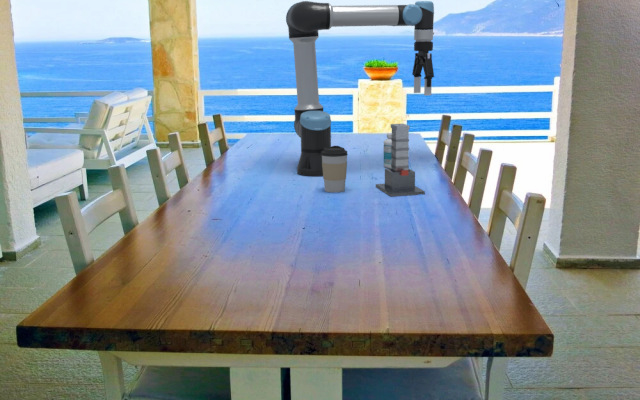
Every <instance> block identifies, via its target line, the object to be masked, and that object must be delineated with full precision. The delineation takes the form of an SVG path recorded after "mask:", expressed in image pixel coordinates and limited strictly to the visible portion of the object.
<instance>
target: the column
mask: <svg viewBox="0 0 640 400" xmlns="http://www.w3.org/2000/svg"><path fill="white" fill-rule="evenodd" d="M410 127H411V126H410V125H409V124H405V123H391V124H390V128H391V133H392V138H391V140H392V146H391V149H392V155H391V158H392V164H391V168H390V169H391V171H392V172H400V170H408V168H409V158H410V157H409V151H410V148H409V141H410V139H409V134H410V133H409V132H410V131H409V130H410ZM409 169H410V168H409Z"/></svg>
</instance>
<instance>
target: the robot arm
mask: <svg viewBox="0 0 640 400" xmlns="http://www.w3.org/2000/svg"><path fill="white" fill-rule="evenodd" d="M434 15H435V4H434V2H433V1H430V0H429V1H428V0H420V1H419V0H418V1H415V2H414V4H413V3H412V4H411V3H409V4H398V5H397V4H383V5H382V4H379V5H378V4H377V5H375V4H374V5H373V4H372V5H371V4H370V5H366V4H365V5H331V4H330V3H329V2H316V1H315V2H314V1H310V0H309V1H308V0H305V1H304V0H302V1H298V2H296V3H294V4H292V5H291V6H290V7H289V9H288V10H287V12H286V15H285V22H286V26H287V30H288V40H289V41H291V42H292V43H293V44H292V45H293V56H294V59H293V60H294V70H295V83H296V97H297V105H296V106H295V107H294V121H293V127H294V128H293V129H294V131H295V133H296V135H297V136H298V137H299V138H300V149H301V150H300V157H299V159H298V163H297V165H296V174H298V175H300V176H309V177H319V176H320V177H323V168H322V155H321V154H322V153H321V152H322V151H324V148H327V147H332V132H331V131H332V129H331V128H332V119H331V115H330V113H328V112H326V111H324V106H323V105H322V104H321V103H320V98H319V97H320V95H319V94H320V93H319V81H318V67H317V52H316V49H317V48H316V42H317V40H318V38H319V31H323V30H326V31H327V30H330V29H331V28H333V27H335V28H336V27H380V26H381V27H382V26H383V27H385V26H387V27H390V26H391V27H408V26H409V27H410V26H411V27H414V32H413V36H414V37H413V40H414V42H413V51H415V53H414V62H413V67H412V74H411V75H412V76H413V93H414V94H421V89H422V88H421V86H422V85H421V84H422V70H423V72H424V77H423V80H424V87H423V89H424V92H423V93H424V95H423V96H432V86H433V85H432V83H433V82H432V79H433V78H435V75H434V74H435V72H434V67H433V66H434V65H433V54H432V53H429V52H432V51H434V46H433V45H434V42H433V40H434V35H435V32H434V19H435V16H434Z"/></svg>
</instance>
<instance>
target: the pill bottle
mask: <svg viewBox="0 0 640 400" xmlns="http://www.w3.org/2000/svg"><path fill="white" fill-rule="evenodd" d="M391 138H392V132H390V133H389V132H388V133H387V134H386V139H384V140H383V167H384V168H385V169H391V164H392V158H391V155H392V149H391V146H392V140H391Z"/></svg>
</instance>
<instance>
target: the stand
mask: <svg viewBox="0 0 640 400" xmlns="http://www.w3.org/2000/svg"><path fill="white" fill-rule="evenodd" d="M375 188H377V189H379V191H381V192H383V193H384V194H386V195H387V196H389V197H407V196H418V194H422V195H425V194H426V191H425V190H423V189H421V188H419V187H417V186H416V171H415V170H413V169H410V168H408V170H400V172H392V171H391V168H384V183H375Z"/></svg>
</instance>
